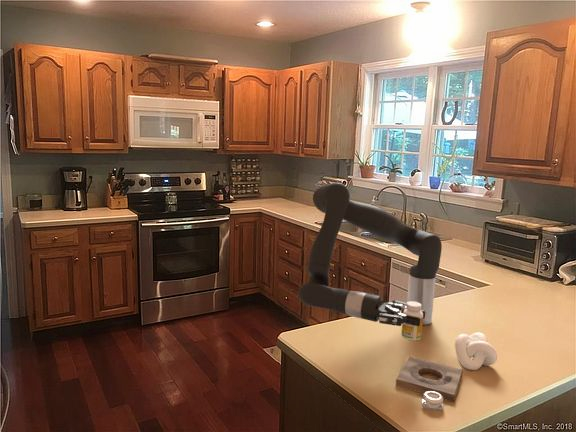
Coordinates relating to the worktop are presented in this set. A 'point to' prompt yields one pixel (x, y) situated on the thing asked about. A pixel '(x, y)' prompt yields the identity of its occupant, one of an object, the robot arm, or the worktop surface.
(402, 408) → the worktop surface
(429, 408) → the metal grooved wheel
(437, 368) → the socket board
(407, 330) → the supplement bottle
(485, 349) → the white knot
